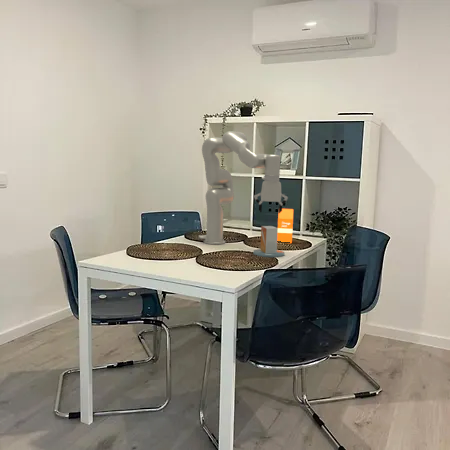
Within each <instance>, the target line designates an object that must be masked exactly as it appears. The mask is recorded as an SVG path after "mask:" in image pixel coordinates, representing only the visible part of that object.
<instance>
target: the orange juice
mask: <svg viewBox="0 0 450 450" xmlns="http://www.w3.org/2000/svg"><path fill="white" fill-rule="evenodd" d="M277 217H278V218H277V228H278V233H277V241H281V242H290V243H289V244H292V242H293V231H294V230H293V228H294V227H293V224H294V209H293V208H282V212H280V213H279V212H278V216H277Z"/></svg>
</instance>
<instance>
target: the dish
mask: <svg viewBox="0 0 450 450" xmlns="http://www.w3.org/2000/svg"><path fill="white" fill-rule="evenodd" d="M252 254H253V255H254V256H256V255H257V257H261V256H262V257H263V258H281V257H284V256H285V252H284V250H283V251H282V250H279V249H277V253H264V252H263V251H261V250H260V249H259V248H258V249H254V250H253V253H252ZM262 257H261V258H262Z"/></svg>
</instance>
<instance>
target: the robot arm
mask: <svg viewBox="0 0 450 450" xmlns="http://www.w3.org/2000/svg"><path fill="white" fill-rule="evenodd" d="M250 149H251V145H250V142H249V141H248V138H247V136H246V134H245V133H244V132H241V131H232V130H229V131H228V130H227V131H226V132H225V133H224V134H222V137H217V136H214V137H209V138H206V139H205V140H204V141H203V143H202V145H201V154H202V157H203V161H204V168H205V169H204V171H205V179H206V182H207V183H206V184H208V185H209V186H212V188H210V189H208V190H206V193H205V202H206V234H204V235H203V234H202V235H201V234H199V235H198V239H201V240H203V243H204V244H208V245H224V244H226V240H224V208H223V207H222V205H228V204H231V203H232V202H233V201H234V198H235V193H234V191H235V190H234V184H233V183H234V182H233V176H232V174H231V172H230V171H229V170H228V169H226V168H225V169H223V168H221V165H220V160H219V158H218V156H217V154H216V153H218V154H229V153H232V152H234V153H236V154H237V157H238V158H239V160H240V162H242V164H244V165H245V166H247V167H248V168H251V169H262V170H263V169H264V175H263V176H261V180H264V181H262V184H261V191H260V192H259V193H257V194H254V196H253V197H254V200H255V201H256V203H257V204H258V211H259V213H263V212H262V210H263V203H264V202H272V203H273V202H274V203H278V204H279V206H278V214H279V213H280V212H282V209H283V205H285V204H286V203H287V201H288V199H289V197H288V196H287V195H285V194H283V193H282V182H280V175H281V174H280V173H281V171H280V170H281V156H280V155H278V154H267V153H254V152H252V151H250ZM216 186H217V187H216ZM258 197H260V200H259V198H258ZM282 198H284V199H283V200H282Z"/></svg>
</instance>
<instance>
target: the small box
mask: <svg viewBox="0 0 450 450" xmlns="http://www.w3.org/2000/svg"><path fill="white" fill-rule="evenodd" d="M277 233H278V227H276V226H273V225H261V227H260V247H259V248H260V250H261V251H263V252H264V253H277V250H278V242H277Z"/></svg>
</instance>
